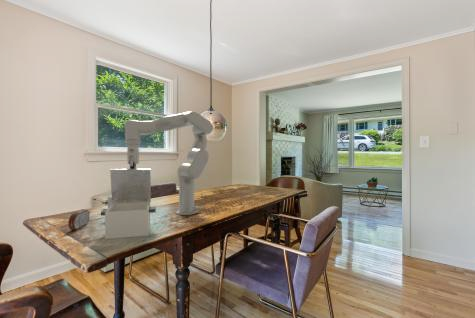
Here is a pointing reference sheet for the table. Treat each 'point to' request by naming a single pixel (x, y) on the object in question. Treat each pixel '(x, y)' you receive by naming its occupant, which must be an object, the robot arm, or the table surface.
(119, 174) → the lid
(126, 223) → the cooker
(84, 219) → the tin
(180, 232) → the table surface
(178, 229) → the table surface
